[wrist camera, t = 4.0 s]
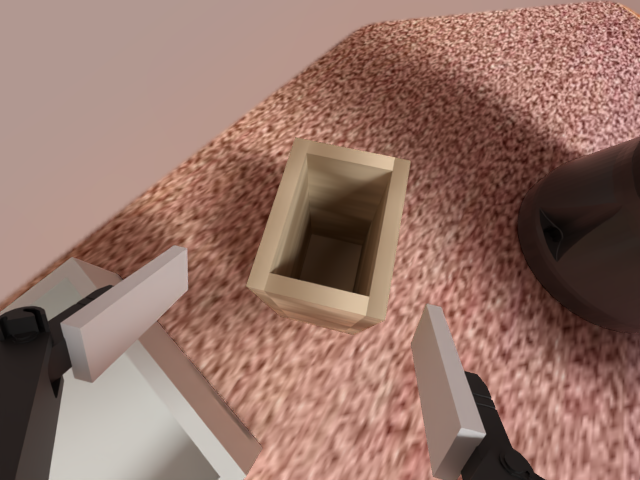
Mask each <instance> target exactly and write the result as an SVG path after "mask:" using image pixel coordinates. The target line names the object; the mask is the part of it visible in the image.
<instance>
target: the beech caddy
mask: <svg viewBox="0 0 640 480" xmlns="http://www.w3.org/2000/svg"><path fill="white" fill-rule="evenodd" d="M410 163H411V161H410V160H405V159H400V158H395V157H390V156H385V155H380V154H375V153H370V152H366V151H361V150H356V149H351V148H346V147H341V146H336V145H331V144H326V143H321V142H316V141H311V140H306V139H301V138H296V137H295V140H294V143H293V146H292V149H291V152H290V155H289V158H288V161H287V164H286V167H285V170H284V173H283V176H282V179H281V182H280V185H279V188H278V191H277V194H276V197H275V200H274V203H273V206H272V209H271V212H270V215H269V218H268V221H267V224H266V227H265V230H264V233H263V236H262V239H261V242H260V245H259V248H258V251H257V254H256V257H255V260H254V263H253V266H252V269H251V272H250V275H249V278H248V282H247V285H246V287H247V288H249V289H250V290H251V291H252V292H253V293H254V294H255V295H256V296H258V297H259V298H260V299H261V300H262V301H263V302H264V303H266V304H267V305H268V306H269V307H270V308H271V309H272V310H274V311H275V312H276V313H277V314H278V315H279V316H280V317H284V318H288V319H292V320H296V321H300V322H304V323H308V324H312V325H316V326H320V327H324V328H328V329H332V330H336V331H340V332H344V333H348V334H352V335H354V334H357V333H359V332H361V331H363V330H365V329H367V328H370V327H372V326H374V325H376V324H378V323H381V322H383V321H385V317H386V311H387V305H388V299H389V292H390V286H391V280H392V274H393V268H394V262H395V255H396V249H397V243H398V237H399V231H400V224H401V218H402V212H403V206H404V200H405V194H406V187H407V181H408V175H409V169H410Z"/></svg>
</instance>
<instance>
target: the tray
mask: <svg viewBox="0 0 640 480" xmlns="http://www.w3.org/2000/svg"><path fill="white" fill-rule="evenodd" d="M121 281H123V279H122V278H121V277H120V276H119V275H118V274H116V273H114V272H111V271H108V270H106V269H103V268H101V267H98V266H95V265H93V264H90V263H87V262H85V261H82V260H80V259H77V258H74V257H71V258H70V259H68V260H67V261H66V262H64V263H63V264H62V265H61V266H59V267H58V268H57V269H55V270H54V271H53V272H51V273H50V274H49V275H48V276H46V277H45V278H44V279H42V280H41V281H40V282H38V283H37V284H36V285H35V286H33V287H32V288H31V289H29V290H28V291H27V292H25V293H24V294H23V295H22V296H20V297H19V298H18V299H16V300H15V301H14V302H12V303H11V304H10V305H9V306H7V307H6V308H5V309H3V310H2V311H1V312H0V315H2V314H4V313H5V312H8V311H10V310H13V309H16V308H20V307H25V306H37V307H41V308H43V309H44V310H45V312H46V316H47V320H48V321H49V320H51V319H52V318H54V317H55V316H57V315H58V314H60V313H61V312H63V311H64V310H66V309H67V308H69V307H71V306H72V305H74V304H77V302H78V301H80V300H81V299H83V298H85V297H86V296H87V295H89V294H90V293H92V292H94V291H95V290H97V289H100V288H102V287H105V286H108V285H113V286H115V285H117V284H118V283H120V282H121ZM63 378H64V385H63V391H62V398H61V404H60V410H59V417H58V423H57V429H56V436H55V442H54V448H53V455H52V461H51V467H50V473H49V480H244V478H245V477H246V476H247V474H248V473H249V471H250V469H251V468H252V466H253V464H254V462H255V461H256V459H257V457H258V455H259V454H260V452H261V450H262V449H263V448H262V446H261V445H260V444H259V443H258V442H257V440H256V439H255V438H254V437H253V436H252V434H251V433H250V432H249V431H248V430H247V428H246V427H245V426H244V425H243V424H242V422H241V421H240V420H239V419H238V418H237V416H236V415H235V414H234V413H233V412H232V410H231V409H230V408H229V407H228V405H227V404H226V403H225V402H224V401H223V399H222V398H221V397H220V396H219V395H218V393H217V392H216V391H215V390H214V389H213V387H212V386H211V385H210V384H209V383H208V381H207V380H206V379H205V378H204V377H203V375H202V374H201V373H200V372H199V371H198V369H197V368H196V367H195V366H194V365H193V363H192V362H191V361H190V360H189V359H188V357H187V356H186V355H185V354H184V353H183V351H182V350H181V349H180V348H179V347H178V345H177V344H176V343H175V342H174V341H173V339H172V338H171V337H170V336H169V335H168V333H167V332H166V331H165V330H164V329H163V327H162V326H161V325H160V324H159V323H158V321H156V322H155V323H154V324H153V325H152V326H150V327H149V328H148V329H147V330H146V331H145V332H144V333H143V334H142V335H141V336H140V337H139V338H138V339H137V340H136V341H135V342H134V343H133V344H132V345H131V346H130V347H129V348H128V349H127V350H126V351H125V352H124V353H123V354H122V355H121V356H120V357H119V358H118V359H117V360H116V361H115V362H114V363H113V364H112V365H111V366H110V367H109V368H108V369H106V370H105V371H104V372H103V373H102V374H101V375H100V376H99V377H98V378H97V379H96V380H95V381H94V382H93V383H89V382H86V381H82V380H78V379H75V378H74V375H73V371H72V367H71V368H70V369H69V370H68V371H67V372H66V373H64V374H63Z"/></svg>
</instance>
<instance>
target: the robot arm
mask: <svg viewBox="0 0 640 480" xmlns="http://www.w3.org/2000/svg"><path fill="white" fill-rule="evenodd" d="M518 234H519V240H520V244H521V248H522V251H523V254H524V256H525V258H526V261H527V263H528V264H529V266H530V268H531V270H532V271H533V273H534V275H535V276H536V277H537V279H538V280H539V281H540V283H541V284H542V285H543V286H544V288H545V289H546V290H547V291H548V292H549V293H550V294H551V295H552V296H553V297H554V298H555V299H556V300H557V301H559V302H560V303H561V304H562V305H563V306H565V307H566V308H568V309H569V310H570V311H572V312H573V313H575V314H576V315H578V316H580V317H582V318H583V319H585V320H587V321H589V322H591V323H594V324H596V325H598V326H601V327H604V328H607V329H611V330H614V331H619V332H625V333H636V334H640V137H637V138H635V139H632V140H629V141H626V142H623V143H620V144H617V145H615V146H612V147H609V148H606V149H603V150H600V151H597V152H595V153H592V154H589V155H586V156H583V157H580V158H578V159H575V160H572V161H569V162H567V163H565V164H563V165H561V166H559V167H558V168H556V169H554V170H553V171H552V172H550V173H549V174H548V175H547V176H545V177H544V178H543V179H541V180H540V181H539V182H537V183H536V184H535V185H534V186H533V187H532V188H531V189H530V190H529V192H528V193H527V194H526V196H525V198H524V200H523V202H522V204H521V207H520V211H519V216H518ZM187 290H188V261H187V248H184V247H179V246H175V245H174V246H172V247H171V248H169V249H168V250H167V251H165V252H164V253H162V254H161V255H159V256H158V257H156V258H155V259H153V260H152V261H150V262H149V263H147V264H146V265H145V266H143V267H142V268H140V269H139V270H137V271H136V272H134V273H133V274H131V275H130V276H128V277H127V278H126V279H124V280H123V281H121V282H120V283H118V284H117V285H115V286H113V285H108V286H105V287H102V288H100V289H97V290H95V291H94V292H92V293H90V294H89V295H87V296H86V297H85V298H83V299H81V300H80V301H78V302H77V304H74V305H72V306H71V307H69V308H67V309H66V310H64V311H63V312H61V313H60V314H58V315H57V316H55V317H54V318H52V319H51V320H49V321H48V320H47V316H46V312H45V310H44V309H43V308H41V307H37V306H25V307H20V308H16V309H13V310H10V311H8V312H5V313H4V314H2V315H0V480H49V473H50V467H51V461H52V455H53V448H54V442H55V436H56V429H57V423H58V417H59V410H60V404H61V398H62V391H63V385H64V378H63V374H64V373H66V372H67V371H68V370H69V369H70V368H71V367H72V371H73V375H74V378H75V379H78V380H82V381H86V382H89V383H93V382H94V381H95V380H96V379H97V378H98V377H99V376H100V375H101V374H102V373H103V372H104V371H105V370H106V369H108V368H109V367H110V366H111V365H112V364H113V363H114V362H115V361H116V360H117V359H118V358H119V357H120V356H121V355H122V354H123V353H124V352H125V351H126V350H127V349H128V348H129V347H130V346H131V345H132V344H133V343H134V342H135V341H136V340H137V339H138V338H139V337H140V336H141V335H142V334H143V333H144V332H145V331H146V330H147V329H148V328H149V327H150V326H152V325H153V324H154V323H155V322H156V321H157V320H158V319H159V318H160V317H161V316H162V315H163V314H164V313H165V312H166V311H167V310H168V309H169V308H170V307H171V306H172V305H173V304H174V303H175V302H176V301H177V300H178V299H179V298H180V297H181V296H182V295H183V294H184V293H185V292H186V291H187ZM411 348H412V354H413V360H414V366H415V372H416V378H417V384H418V390H419V396H420V402H421V408H422V414H423V420H424V426H425V432H426V438H427V444H428V450H429V456H430V462H431V468H432V474H433V477H436V478H439V479H443V480H457V479H458V477H459V476H460V474H461V475H462V479H463V480H545V479H543V478H542V477H540V476H538V475H537V474H535V473H534V471H533V469H532V467H531V466H530V464H529V463H528V461H527V460H526V459H525V458H524V457H523V456H522V455H521V454H520V453H519V452H517V451H516V450H514V449H513V448H512V446H511V444H510V441H509V439H508V436H507V434H506V432H505V429H504V427H503V424H502V422H501V420H500V417H499V415H498V412H497V410H495V405H494V403H493V400H491V396H490V393H489V391H488V388H487V386H486V385H485V383H484V382H483V381H482V380H481V378H480V377H479V376H478V375H477V374H474V373H470V372H466V371H464V370H463V367H462V364H461V361H460V359H459V356H458V353H457V350H456V347H455V344H454V342H453V339H452V336H451V333H450V330H449V327H448V325H447V322H446V319H445V316H444V313H443V310H442V308H441V307H439V306H435V305H430V304H426V306H425V308H424V311H423V314H422V316H421V319H420V321H419V324H418V326H417V329H416V331H415V334H414V337H413V339H412V342H411Z"/></svg>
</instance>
